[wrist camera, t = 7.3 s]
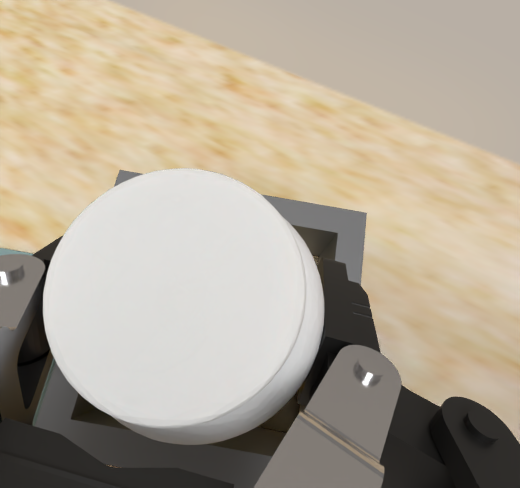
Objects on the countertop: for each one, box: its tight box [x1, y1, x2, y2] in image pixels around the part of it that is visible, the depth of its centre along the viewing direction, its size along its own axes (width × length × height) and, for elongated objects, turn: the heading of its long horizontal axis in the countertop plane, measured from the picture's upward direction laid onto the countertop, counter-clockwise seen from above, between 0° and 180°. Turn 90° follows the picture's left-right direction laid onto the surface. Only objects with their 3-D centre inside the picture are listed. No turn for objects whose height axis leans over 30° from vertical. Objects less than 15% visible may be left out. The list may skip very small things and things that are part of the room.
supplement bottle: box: [43, 168, 324, 445], centre depth 10 cm, size 6×6×10 cm
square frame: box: [35, 170, 367, 488], centre depth 13 cm, size 10×10×4 cm
